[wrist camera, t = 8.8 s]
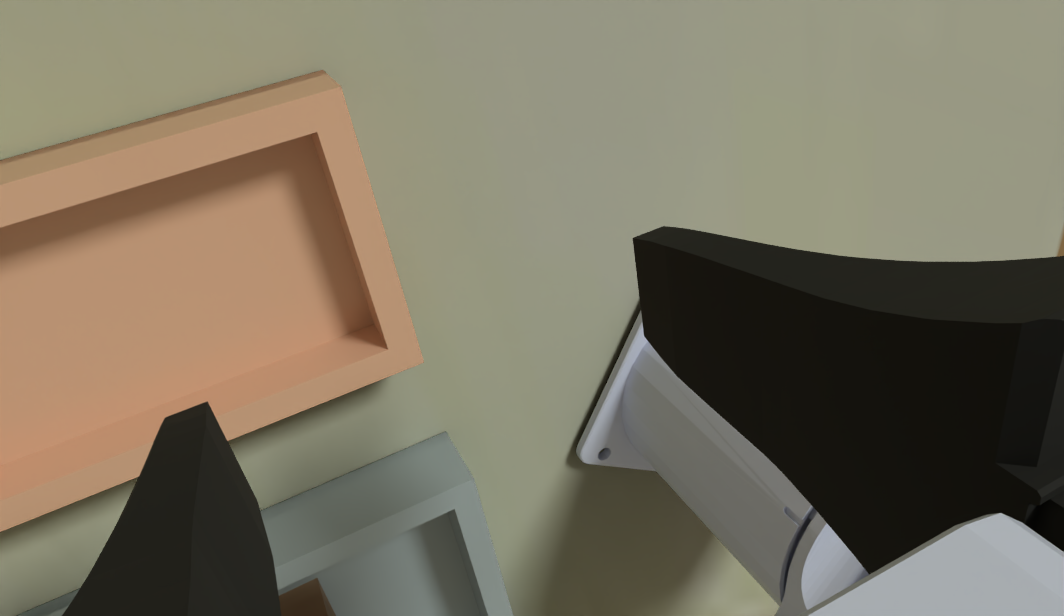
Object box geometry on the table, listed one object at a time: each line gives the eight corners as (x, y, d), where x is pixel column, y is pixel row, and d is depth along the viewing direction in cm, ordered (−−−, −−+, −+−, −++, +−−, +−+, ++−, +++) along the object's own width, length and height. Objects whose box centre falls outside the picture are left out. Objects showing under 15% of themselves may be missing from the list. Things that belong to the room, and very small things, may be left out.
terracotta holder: (323, 69, 19) (340, 86, 17) (403, 329, 23) (424, 362, 21) (-299, 244, 16) (-348, 285, 14) (-76, 513, 20) (-94, 569, 18)
